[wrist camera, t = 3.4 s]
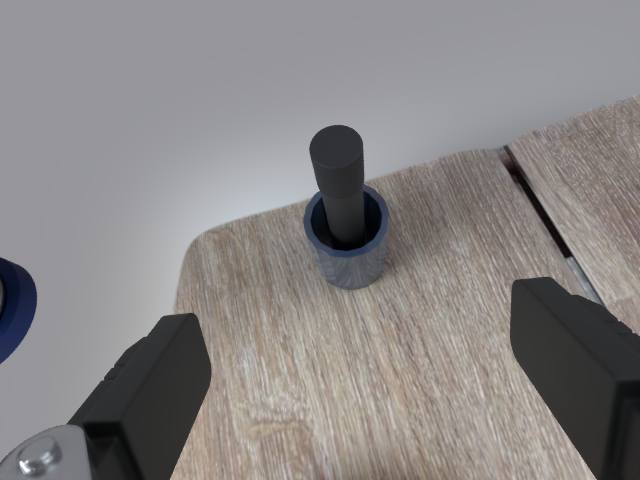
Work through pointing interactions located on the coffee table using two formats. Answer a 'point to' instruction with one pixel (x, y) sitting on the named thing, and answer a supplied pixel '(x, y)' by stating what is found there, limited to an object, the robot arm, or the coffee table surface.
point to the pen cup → (354, 264)
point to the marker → (341, 183)
